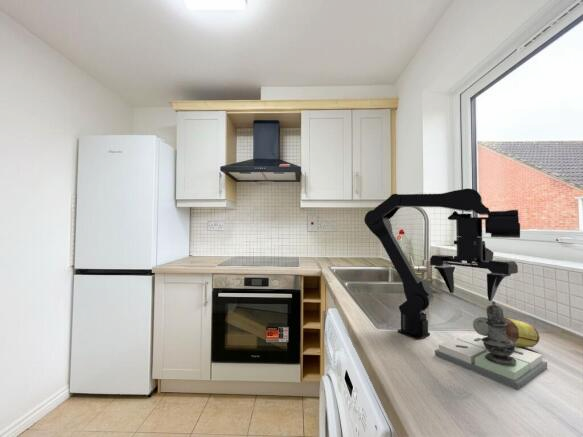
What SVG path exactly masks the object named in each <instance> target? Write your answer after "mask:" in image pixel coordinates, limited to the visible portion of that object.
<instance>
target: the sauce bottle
mask: <svg viewBox="0 0 583 437" xmlns="http://www.w3.org/2000/svg"><path fill="white" fill-rule="evenodd" d="M486 321H488V318H487V317H483V316H479V317H476V318H475V319H474V320H473V322H472V326H473V329H474V331H475V332H476V333H477V335H479V336H482V337H487V336H488V333H489V330H488V324H487V323H486ZM504 322H505V323H506V324H507V325H506V326H505V329H506V335H507V337H508V339H509V340H511V341H513V342H515V343H516V346H515V347H519V348H533V347H535V346H536V345H537V344H538V343H539V342H540V334H539V332H538V329H536V328H535V327H534V326H533V325H531V324H530V323H527V322H525V321H521V320H518V319H517V320H516V319H512V318H507V317H504Z"/></svg>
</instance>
